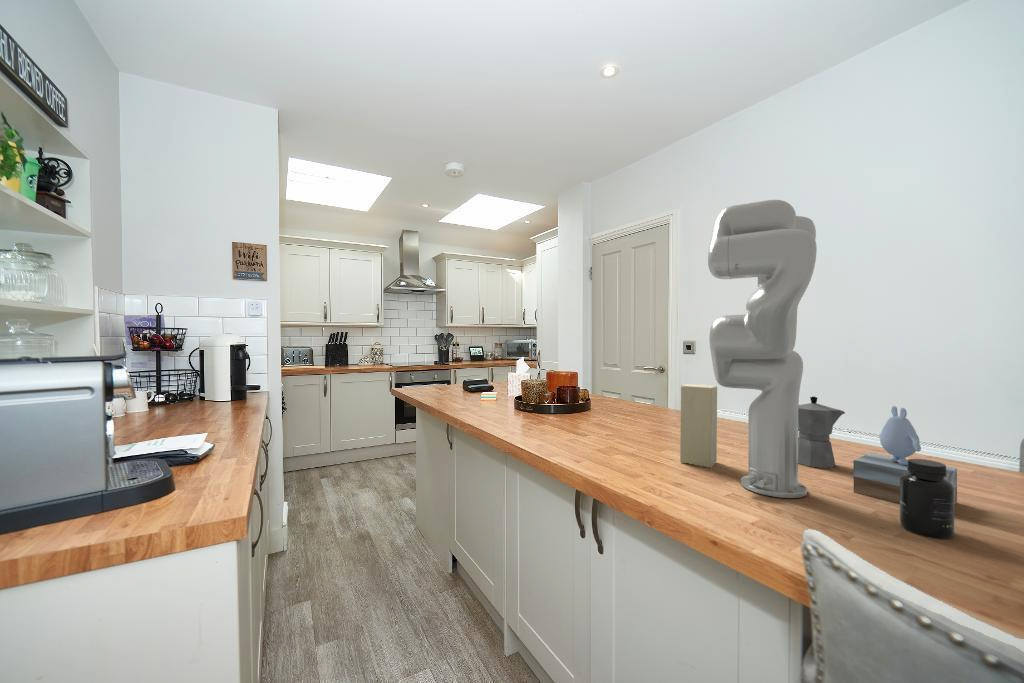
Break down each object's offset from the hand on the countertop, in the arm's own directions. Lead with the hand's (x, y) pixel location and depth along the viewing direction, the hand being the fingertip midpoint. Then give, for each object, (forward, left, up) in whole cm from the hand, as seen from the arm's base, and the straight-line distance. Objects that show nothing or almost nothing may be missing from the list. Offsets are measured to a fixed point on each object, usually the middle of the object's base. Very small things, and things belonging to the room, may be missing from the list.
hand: (773, 343), depth 114 cm
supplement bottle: (-22, -35, -33) cm, 52 cm away
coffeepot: (+7, -6, -33) cm, 34 cm away
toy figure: (-5, -27, -26) cm, 38 cm away
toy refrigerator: (-17, +11, -33) cm, 38 cm away
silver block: (-5, -28, -32) cm, 43 cm away
